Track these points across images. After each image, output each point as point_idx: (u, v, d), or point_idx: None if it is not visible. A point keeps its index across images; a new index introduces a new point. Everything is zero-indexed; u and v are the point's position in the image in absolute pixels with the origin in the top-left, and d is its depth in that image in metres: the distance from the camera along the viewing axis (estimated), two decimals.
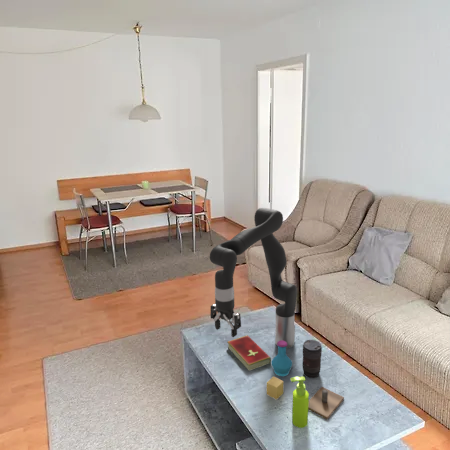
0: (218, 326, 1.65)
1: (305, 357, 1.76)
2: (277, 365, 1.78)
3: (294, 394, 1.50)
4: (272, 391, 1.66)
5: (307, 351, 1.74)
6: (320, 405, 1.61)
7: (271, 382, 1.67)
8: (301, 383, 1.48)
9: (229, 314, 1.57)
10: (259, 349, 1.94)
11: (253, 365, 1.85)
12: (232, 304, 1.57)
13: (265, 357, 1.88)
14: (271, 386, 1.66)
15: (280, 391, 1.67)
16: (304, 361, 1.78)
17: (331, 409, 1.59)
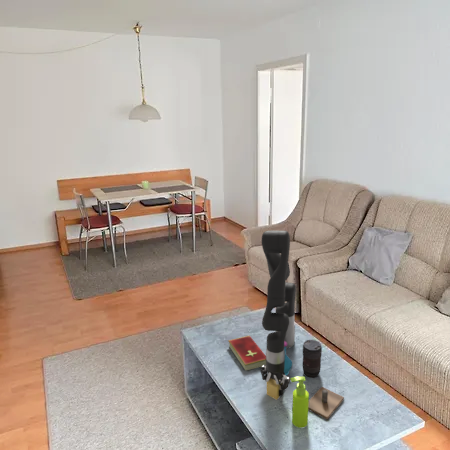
0: None
1: (305, 357, 1.76)
2: None
3: (294, 394, 1.50)
4: (272, 391, 1.66)
5: (307, 351, 1.74)
6: (320, 405, 1.61)
7: (271, 382, 1.67)
8: (301, 383, 1.48)
9: (280, 375, 1.63)
10: (258, 350, 1.93)
11: (249, 366, 1.84)
12: (283, 366, 1.63)
13: (263, 358, 1.87)
14: (271, 386, 1.66)
15: None
16: (304, 361, 1.78)
17: (331, 409, 1.59)
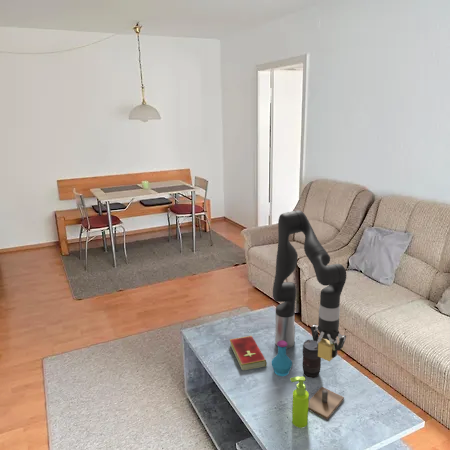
0: None
1: (305, 357, 1.76)
2: (277, 365, 1.78)
3: (294, 394, 1.50)
4: (325, 352, 1.54)
5: (307, 351, 1.74)
6: (320, 405, 1.61)
7: (323, 342, 1.55)
8: (301, 383, 1.48)
9: (334, 334, 1.50)
10: (258, 351, 1.92)
11: (246, 366, 1.84)
12: (338, 323, 1.50)
13: (260, 359, 1.86)
14: (324, 346, 1.53)
15: None
16: (304, 361, 1.78)
17: (331, 409, 1.59)
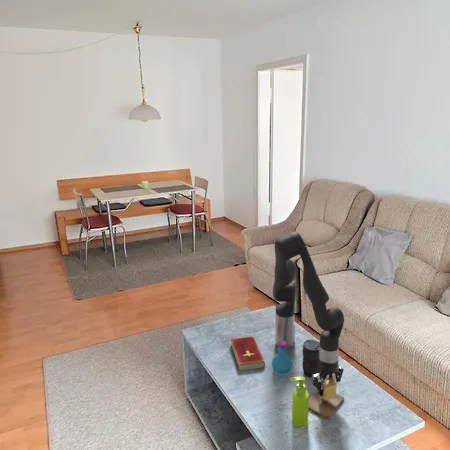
0: None
1: (305, 357, 1.76)
2: (277, 365, 1.78)
3: (294, 394, 1.50)
4: (331, 392, 1.59)
5: (307, 351, 1.74)
6: (320, 405, 1.61)
7: (327, 384, 1.59)
8: (301, 383, 1.48)
9: (336, 369, 1.59)
10: (257, 351, 1.92)
11: (244, 366, 1.85)
12: None
13: (259, 360, 1.86)
14: (331, 387, 1.58)
15: None
16: (304, 361, 1.78)
17: (331, 409, 1.59)
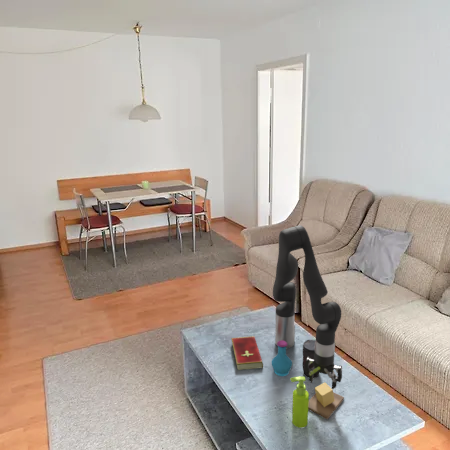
0: (312, 379, 1.62)
1: (305, 357, 1.76)
2: (277, 365, 1.78)
3: (294, 394, 1.50)
4: (329, 397, 1.60)
5: (307, 351, 1.74)
6: (320, 405, 1.61)
7: (323, 391, 1.59)
8: (301, 383, 1.48)
9: (331, 368, 1.55)
10: (256, 352, 1.92)
11: (242, 366, 1.85)
12: (333, 357, 1.55)
13: (257, 361, 1.85)
14: (327, 394, 1.59)
15: None
16: (304, 361, 1.78)
17: (331, 409, 1.59)
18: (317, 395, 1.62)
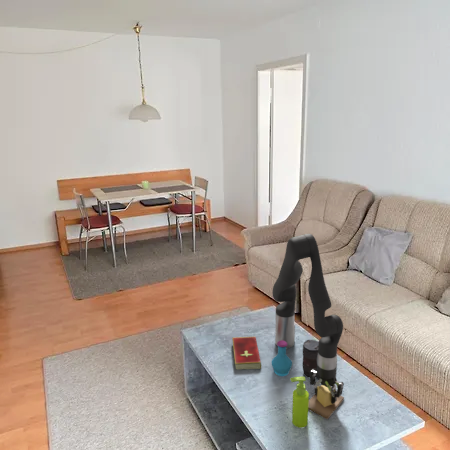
0: None
1: (305, 357, 1.76)
2: (277, 365, 1.78)
3: (294, 394, 1.50)
4: (330, 398, 1.60)
5: (307, 351, 1.74)
6: (320, 405, 1.61)
7: (326, 391, 1.60)
8: (301, 383, 1.48)
9: (332, 381, 1.57)
10: (256, 352, 1.91)
11: (240, 366, 1.85)
12: (335, 371, 1.56)
13: (255, 361, 1.85)
14: (330, 394, 1.59)
15: None
16: (304, 361, 1.78)
17: (331, 409, 1.59)
18: (318, 394, 1.62)
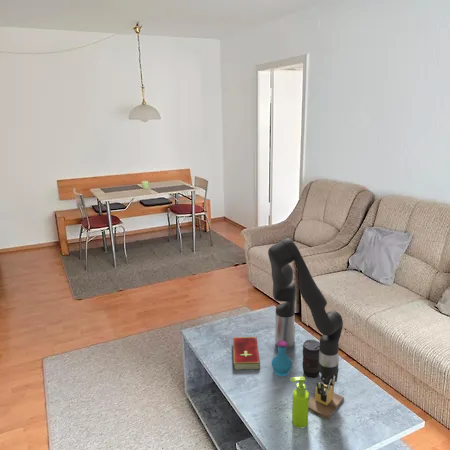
0: None
1: (305, 357, 1.76)
2: (277, 365, 1.78)
3: (294, 394, 1.50)
4: None
5: (307, 351, 1.74)
6: (320, 405, 1.61)
7: None
8: (301, 383, 1.48)
9: None
10: (255, 352, 1.91)
11: (239, 365, 1.85)
12: None
13: (254, 361, 1.85)
14: None
15: None
16: (304, 361, 1.78)
17: (331, 409, 1.59)
18: (328, 397, 1.60)
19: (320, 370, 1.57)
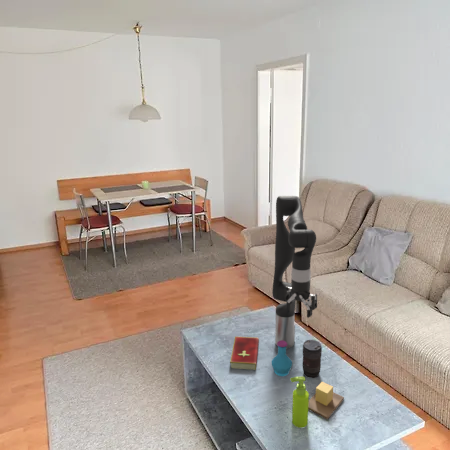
0: (291, 308, 1.69)
1: (305, 357, 1.76)
2: (277, 365, 1.78)
3: (294, 394, 1.50)
4: None
5: (307, 351, 1.74)
6: (320, 405, 1.61)
7: (328, 386, 1.62)
8: (301, 383, 1.48)
9: (306, 295, 1.61)
10: (254, 353, 1.91)
11: (235, 365, 1.86)
12: (309, 285, 1.61)
13: (251, 362, 1.85)
14: None
15: None
16: (304, 361, 1.78)
17: (331, 409, 1.59)
18: (328, 398, 1.60)
19: None
